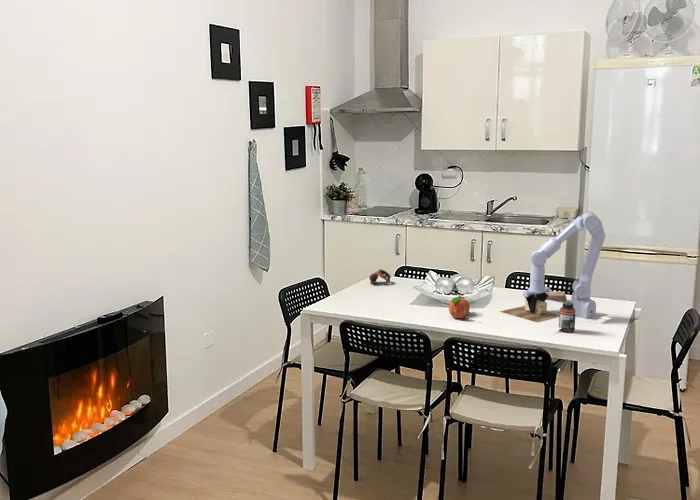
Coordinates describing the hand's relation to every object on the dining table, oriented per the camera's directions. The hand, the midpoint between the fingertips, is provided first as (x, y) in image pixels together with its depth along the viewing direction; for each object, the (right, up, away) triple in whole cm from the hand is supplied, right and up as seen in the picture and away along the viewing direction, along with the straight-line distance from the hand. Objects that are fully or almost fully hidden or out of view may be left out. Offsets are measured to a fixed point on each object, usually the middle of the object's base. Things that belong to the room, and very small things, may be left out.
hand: (535, 311), depth 292 cm
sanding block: (0, 0, 0) cm, 0 cm away
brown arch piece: (-64, +8, +58) cm, 86 cm away
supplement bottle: (+7, -6, -20) cm, 22 cm away
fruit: (-33, -3, -2) cm, 33 cm away
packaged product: (+11, +2, +25) cm, 27 cm away
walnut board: (-3, -2, -1) cm, 4 cm away
